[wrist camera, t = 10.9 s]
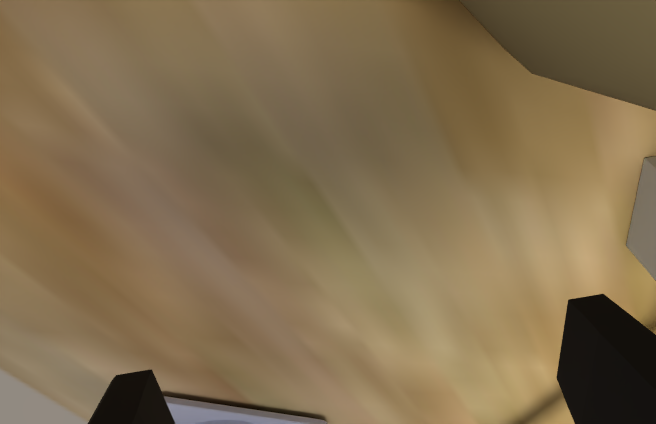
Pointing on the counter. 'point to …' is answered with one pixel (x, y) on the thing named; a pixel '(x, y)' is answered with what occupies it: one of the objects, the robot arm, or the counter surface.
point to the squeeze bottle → (580, 42)
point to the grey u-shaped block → (645, 219)
